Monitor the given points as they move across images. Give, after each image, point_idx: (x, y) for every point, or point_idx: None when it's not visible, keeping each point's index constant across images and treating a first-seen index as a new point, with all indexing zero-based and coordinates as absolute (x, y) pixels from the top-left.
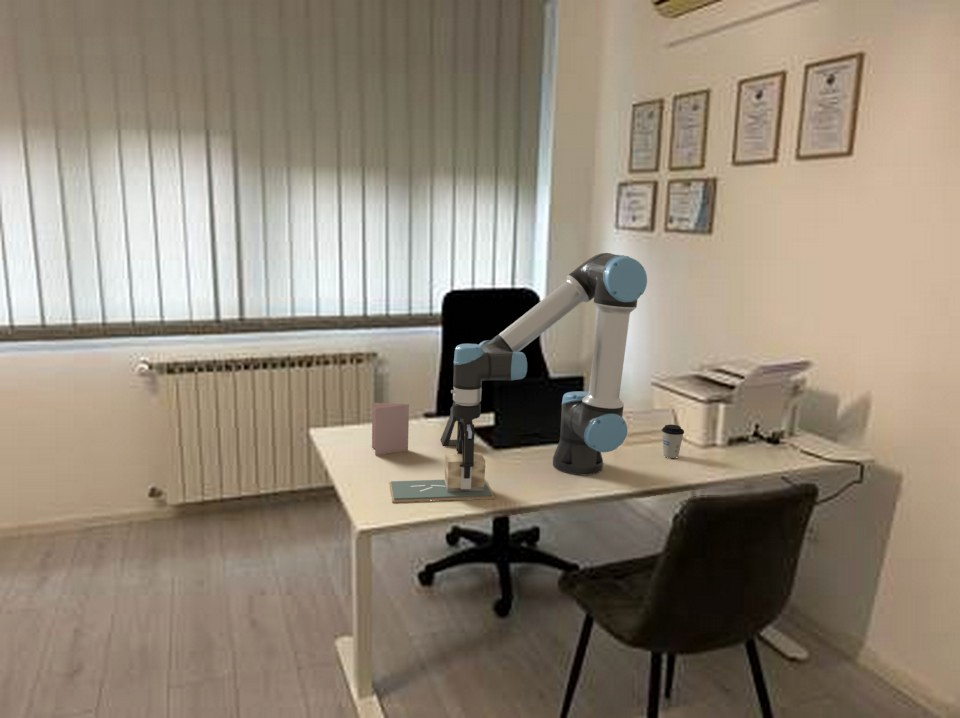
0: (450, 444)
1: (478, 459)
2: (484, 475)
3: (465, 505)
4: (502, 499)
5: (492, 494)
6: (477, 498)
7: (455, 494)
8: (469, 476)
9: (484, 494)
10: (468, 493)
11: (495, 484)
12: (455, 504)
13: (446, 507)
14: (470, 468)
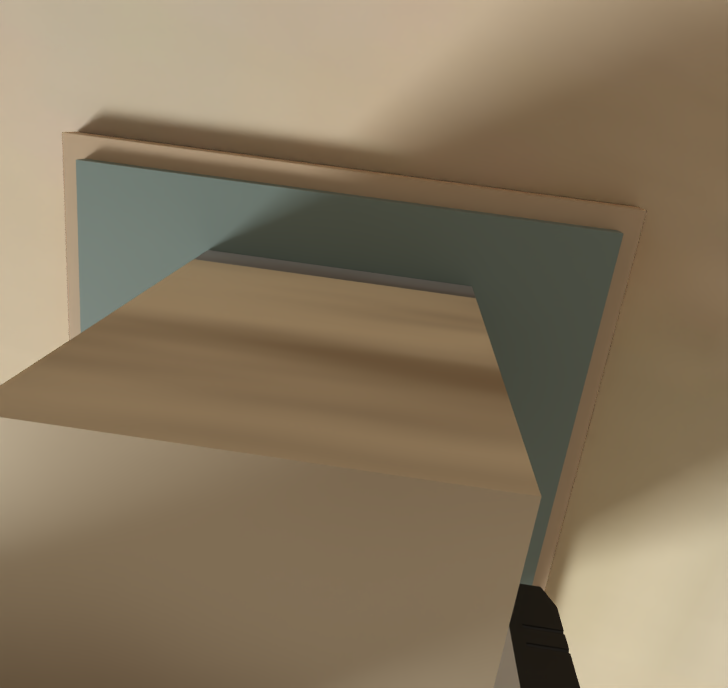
0: None
1: (398, 606)
2: (492, 356)
3: (683, 533)
4: (685, 105)
5: (568, 205)
6: (595, 394)
7: None
8: (557, 619)
9: (584, 318)
10: None
11: (197, 28)
12: (626, 602)
13: (660, 681)
14: (511, 675)
